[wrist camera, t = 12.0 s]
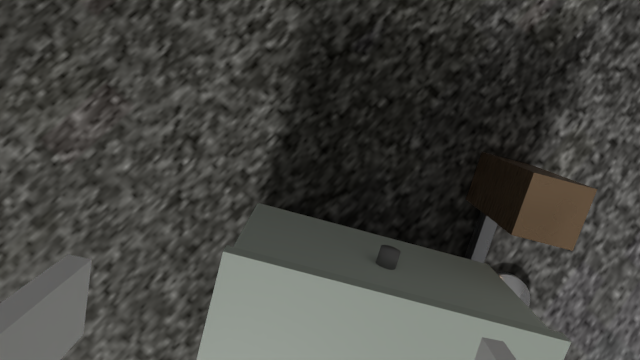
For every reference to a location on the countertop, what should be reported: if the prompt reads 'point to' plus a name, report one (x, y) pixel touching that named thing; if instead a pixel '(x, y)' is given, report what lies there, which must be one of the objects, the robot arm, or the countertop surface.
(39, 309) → the robot arm
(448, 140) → the countertop surface
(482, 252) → the block
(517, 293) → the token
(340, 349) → the cabinet
